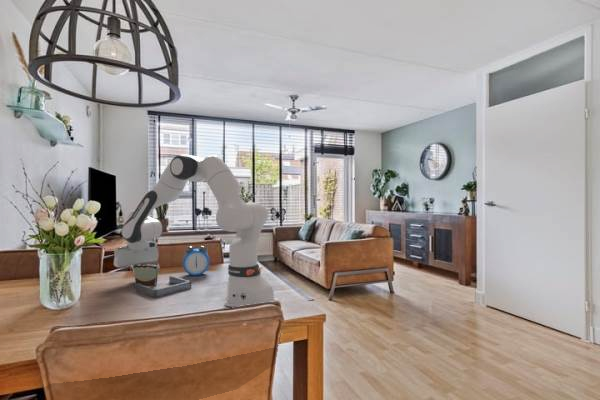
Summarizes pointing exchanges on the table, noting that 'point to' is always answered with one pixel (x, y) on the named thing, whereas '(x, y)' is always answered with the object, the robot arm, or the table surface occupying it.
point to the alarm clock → (196, 260)
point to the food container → (146, 273)
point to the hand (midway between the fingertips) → (137, 272)
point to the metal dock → (180, 285)
